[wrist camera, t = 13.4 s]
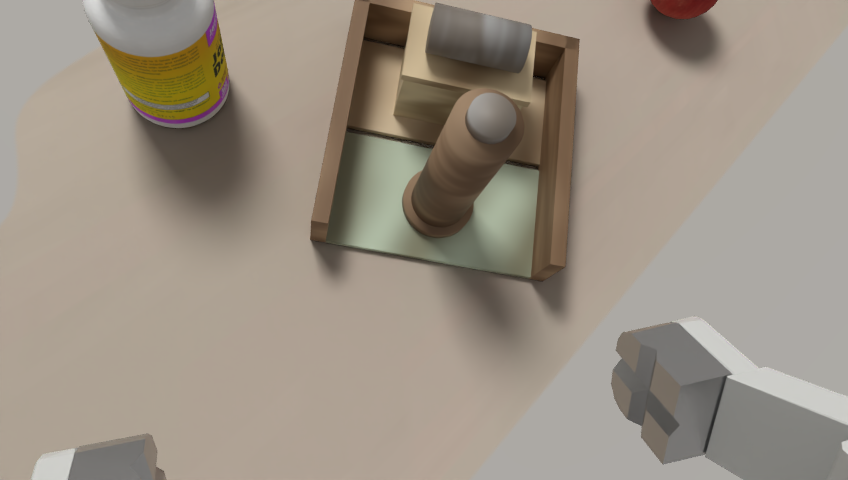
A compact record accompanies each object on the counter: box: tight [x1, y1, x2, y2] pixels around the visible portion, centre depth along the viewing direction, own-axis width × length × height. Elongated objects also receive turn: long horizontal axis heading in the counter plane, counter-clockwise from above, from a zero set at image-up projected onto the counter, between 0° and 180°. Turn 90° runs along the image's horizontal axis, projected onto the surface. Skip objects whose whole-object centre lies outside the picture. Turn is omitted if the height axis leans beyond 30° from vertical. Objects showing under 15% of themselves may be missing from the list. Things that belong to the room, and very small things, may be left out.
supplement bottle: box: [83, 0, 229, 128], centre depth 37 cm, size 7×7×13 cm
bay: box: [310, 0, 580, 281], centre depth 44 cm, size 16×17×4 cm
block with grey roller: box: [393, 3, 537, 125], centre depth 42 cm, size 8×5×9 cm, turn 82°
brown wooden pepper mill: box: [402, 88, 524, 238], centre depth 37 cm, size 5×5×13 cm
